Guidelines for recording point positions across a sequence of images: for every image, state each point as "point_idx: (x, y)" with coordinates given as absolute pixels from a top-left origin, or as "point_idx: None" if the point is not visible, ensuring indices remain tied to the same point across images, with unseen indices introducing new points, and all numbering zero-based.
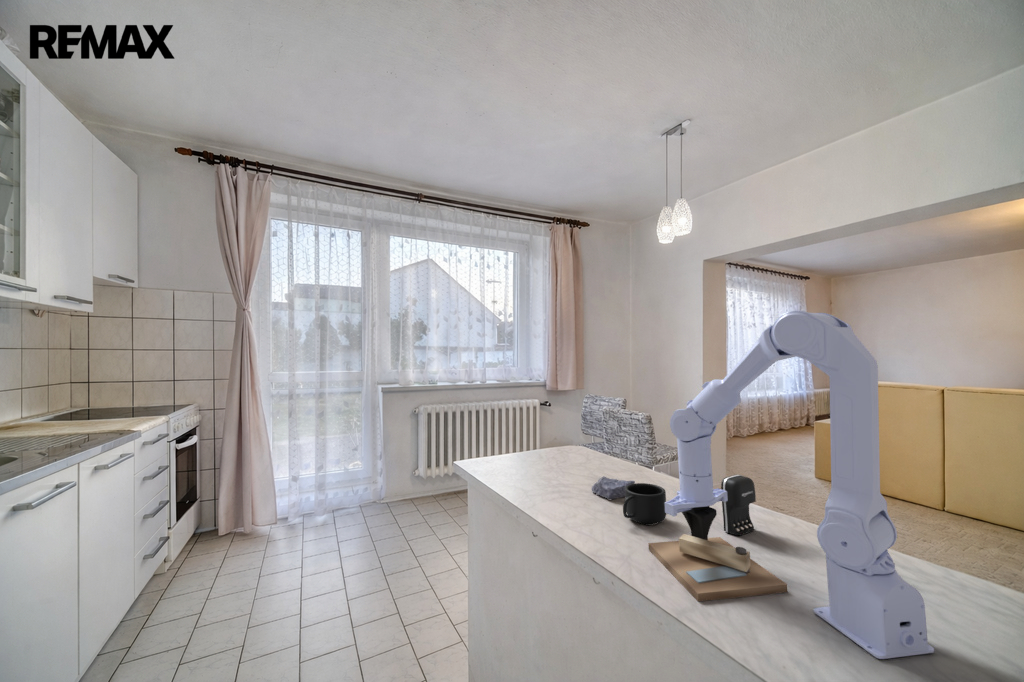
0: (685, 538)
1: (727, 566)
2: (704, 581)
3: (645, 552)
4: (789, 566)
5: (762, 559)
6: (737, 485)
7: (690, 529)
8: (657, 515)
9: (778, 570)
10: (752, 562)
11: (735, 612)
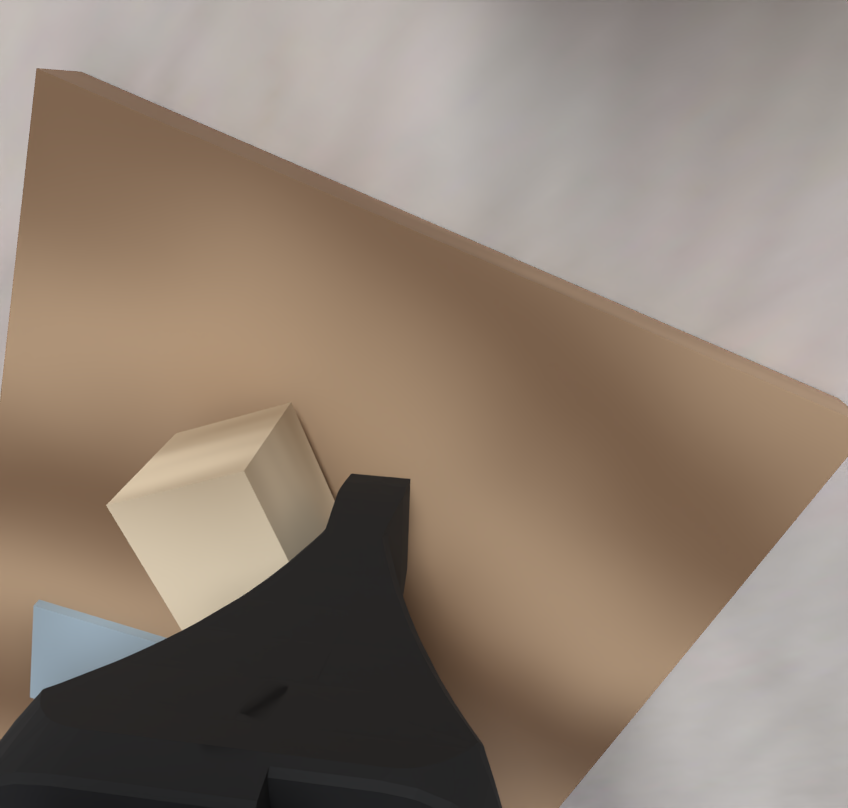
0: (169, 547)
1: None
2: None
3: (16, 100)
4: (801, 803)
5: (776, 695)
6: None
7: (306, 547)
8: None
9: (688, 786)
10: (572, 755)
11: None
